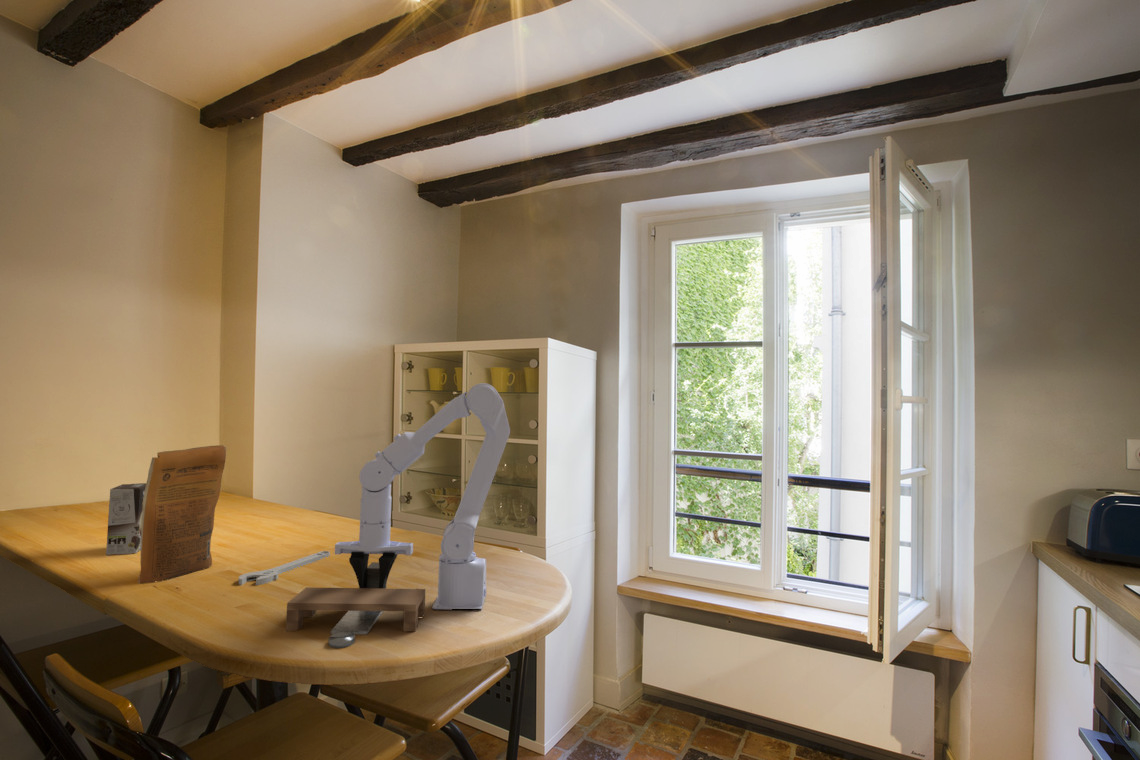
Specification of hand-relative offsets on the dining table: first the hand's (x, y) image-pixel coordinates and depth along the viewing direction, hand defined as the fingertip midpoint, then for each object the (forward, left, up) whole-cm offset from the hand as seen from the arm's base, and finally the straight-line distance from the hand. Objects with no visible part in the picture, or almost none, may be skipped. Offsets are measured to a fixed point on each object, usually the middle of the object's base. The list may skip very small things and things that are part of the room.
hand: (372, 591), depth 111 cm
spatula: (0, +5, -3) cm, 5 cm away
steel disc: (0, +17, -3) cm, 17 cm away
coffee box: (+71, -36, -3) cm, 80 cm away
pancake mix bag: (+47, -18, -3) cm, 50 cm away
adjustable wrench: (+25, -22, -3) cm, 33 cm away
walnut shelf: (0, +8, -3) cm, 9 cm away
